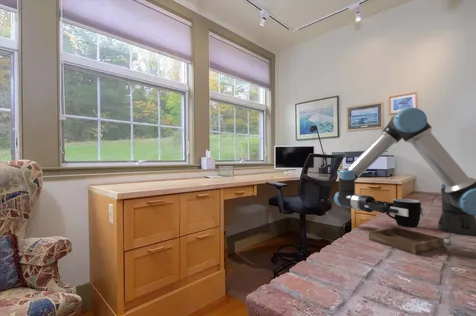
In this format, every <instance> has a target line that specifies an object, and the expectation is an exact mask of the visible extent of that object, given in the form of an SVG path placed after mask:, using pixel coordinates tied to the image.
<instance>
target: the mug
mask: <svg viewBox="0 0 476 316" xmlns="http://www.w3.org/2000/svg"><path fill="white" fill-rule="evenodd" d="M390 205H393V206H394V207H397V208H403V209H408V217H406V216H401V215H396V214H394V216H392V214H391V213H389V215H387V216H388V217H389V218H391V219H393V220H395V222H396V224H397V225H398V226H400V227H403V228H410V229H411V228H412V229H414V228H418V226H419V224H420V219H421V214H420V212H421V208H422V206H421V205H422V202H421V201H420V200H416V199H411V198H410V199H409V198H393V201H392V202H390V204H388V205H387V206H388V207H389V206H390Z"/></svg>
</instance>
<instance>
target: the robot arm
mask: <svg viewBox="0 0 476 316" xmlns="http://www.w3.org/2000/svg"><path fill="white" fill-rule="evenodd" d="M432 128H433V127H432V126H431V125H430V123H429V122H428V117H427V114H426V113H425V111H423V109H420V108H416V107H406V108H404V109H401V110H399V111H398V112H397V113H396V114H395V115H394V116H392V118H391V119H390V121H388V123H387V124H386V126H385V127H384V128H383V130H381V131H380V135H379V136H378V137H377V138H376V139H375V140H374V141H373V142H372V143H371V144H370V145H369V146H368V147H367V148H366V149H365V150H364V151H363V152H362V153H361V154H360V155H359V156H358V157H357V158H356V159H355V160H354V161H353V162H352V163H351V164H350V165H349V166H348V167H347V168H346V169H340V170H339V171H338V191H337V192H336V193H335V194H334V197H333V201H334V203H335V204H336V205H337V206H338V207H339V206H340V207H341V208H342V207H343V208H347V209H352V210H357V212H360V211H363V212H366V213H373V212H378V213H381V214H385V215H386V216H388V215H389V214H390V215H395V214H396V215H401V216H406V217H408V209H403V208H397V207H394V206H393V205H390V206H389V207H388V206H387V205H388V204H390V203H391V202H389V201H381V200H376V198H374V196H372V195H364V194H359V193H356V189H355V187H356V181H357V180H358V178H360V176H361V175H362V174H364V173H365V172H366V171H367V170H368V169H369V167H371V166H372V165H373V164H374V163H375V162H376V161H377V160H378V159H379V158H380V157H381V156H383V154H385V152H386V151H387V150H389V149H390V148H391V147H392V146H393V145H394V144H398V143H399V142H400V141H401V140H403V141H404V142H405V143H410V144H411V145H412V147H414V149H415V150H416V151H417V152H418V154H419V155H420V156H421V158H422V159H423V160H424V161H425V162H426V164H427V165H428V166H429V167H430V169H431V170H432V171H433V172H434V173H435V175H436V176H437V178H439V180H440V181H441V182H442V184H441V186H440V187H441V188H440V191H441V194H440V195H441V214H440V217H439V219H438V222H437V228H438V229H439V230H441V231H444V232H449V233H453V234H458V235H465V236H466V235H467V236H476V178H473V177H469V176H468V174H467V173H466V172H465V171H464V170H463V169H462V167H460V165H459V164H458V163H457V162H456V161H455V160H454V158H453V157H452V156H451V154H450V153H449V152H448V151H447V150H446V148H444V146H443V144H441V143H440V141H439V140H438V139H437V138H436V137H435V135H434V134H433V133H432ZM423 215H424V207H421V212H420V216H423Z"/></svg>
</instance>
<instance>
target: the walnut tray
mask: <svg viewBox="0 0 476 316" xmlns="http://www.w3.org/2000/svg"><path fill="white" fill-rule="evenodd" d="M368 240H369V241H372V242H374V243H378V244H381V245H384V246H387V247H391V248H393V249H397V250H399V251H403V252H405V253H406V252H407V253H409V254H412V255H415V256H417V255H420V254H424V253H427V252H431V251H435V250H440V249H443V248H445V240H444V237H439V236H436V235H431V234H427V233H422V232H419V231H415V230H411V229H407V228H402V227H398V226H393V227H388V228H383V229H376V230H370V231H368Z"/></svg>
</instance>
